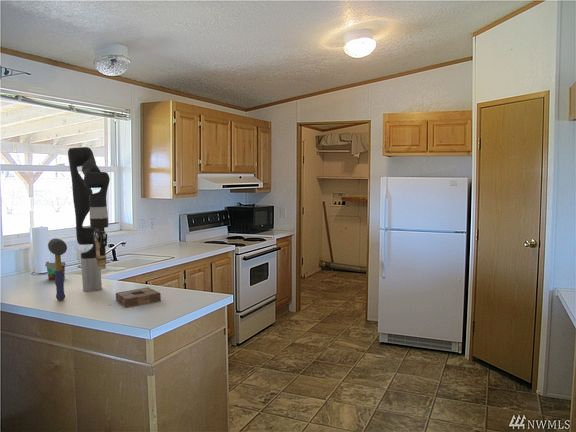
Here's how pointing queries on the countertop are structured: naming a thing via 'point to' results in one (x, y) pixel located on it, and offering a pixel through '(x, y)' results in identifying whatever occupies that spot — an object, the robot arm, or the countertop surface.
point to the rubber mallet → (58, 265)
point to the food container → (54, 269)
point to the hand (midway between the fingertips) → (101, 254)
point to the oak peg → (100, 257)
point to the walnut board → (138, 297)
